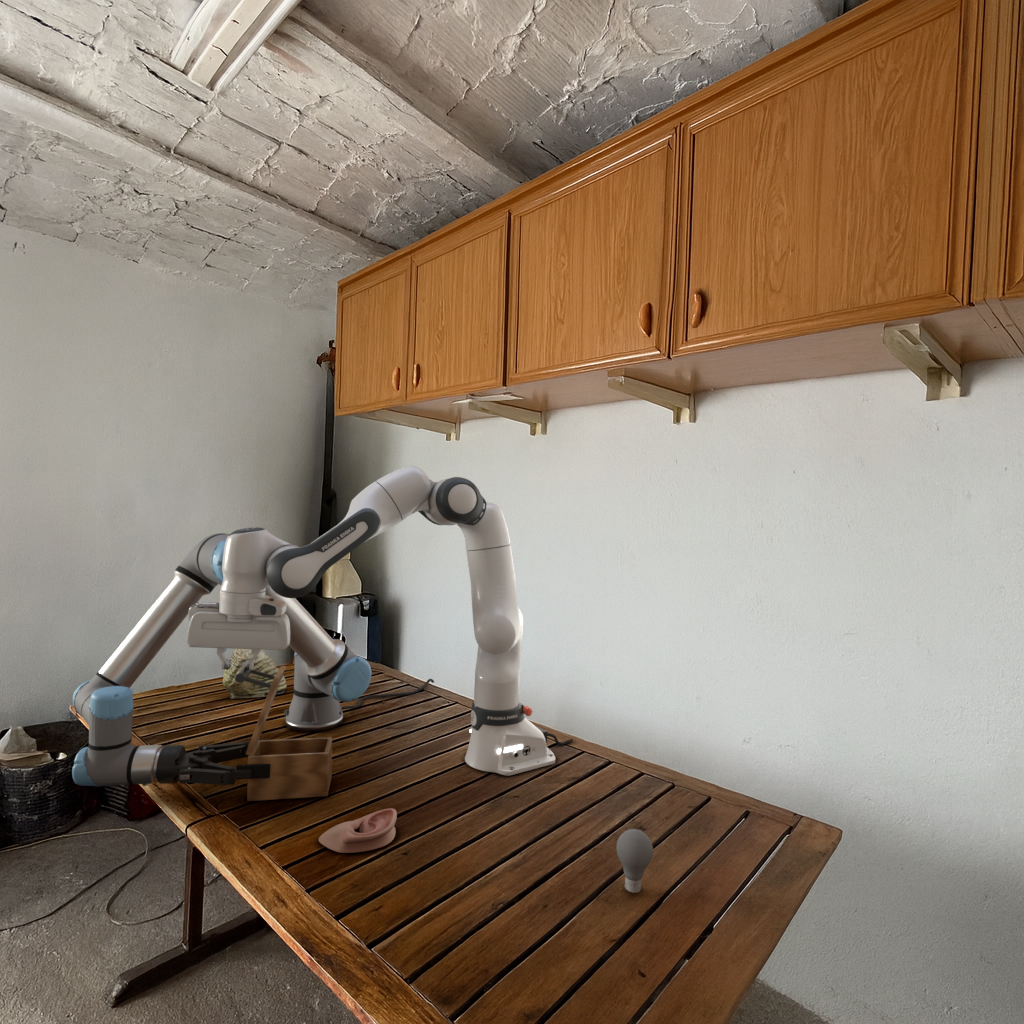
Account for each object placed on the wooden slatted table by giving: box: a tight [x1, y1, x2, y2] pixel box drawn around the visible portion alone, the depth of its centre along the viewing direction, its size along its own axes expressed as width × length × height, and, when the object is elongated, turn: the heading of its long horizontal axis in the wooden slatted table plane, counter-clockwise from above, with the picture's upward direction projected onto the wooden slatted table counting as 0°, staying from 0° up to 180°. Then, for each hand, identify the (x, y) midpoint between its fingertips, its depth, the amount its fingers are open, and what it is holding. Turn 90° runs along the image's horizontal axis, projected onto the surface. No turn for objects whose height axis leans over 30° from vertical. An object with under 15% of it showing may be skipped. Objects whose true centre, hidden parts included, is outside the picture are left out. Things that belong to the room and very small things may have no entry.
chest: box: [246, 736, 333, 802], centre depth 136 cm, size 16×9×9 cm, turn 101°
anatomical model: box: [318, 807, 398, 854], centre depth 118 cm, size 13×4×12 cm
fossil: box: [222, 649, 288, 699], centre depth 198 cm, size 9×18×15 cm, turn 132°
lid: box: [235, 665, 287, 755], centre depth 135 cm, size 17×9×8 cm
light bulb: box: [615, 828, 654, 894], centre depth 106 cm, size 6×6×10 cm
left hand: (274, 760), depth 136 cm, fingers closed on chest, 9 cm apart
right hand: (237, 669), depth 134 cm, fingers open, 3 cm apart
